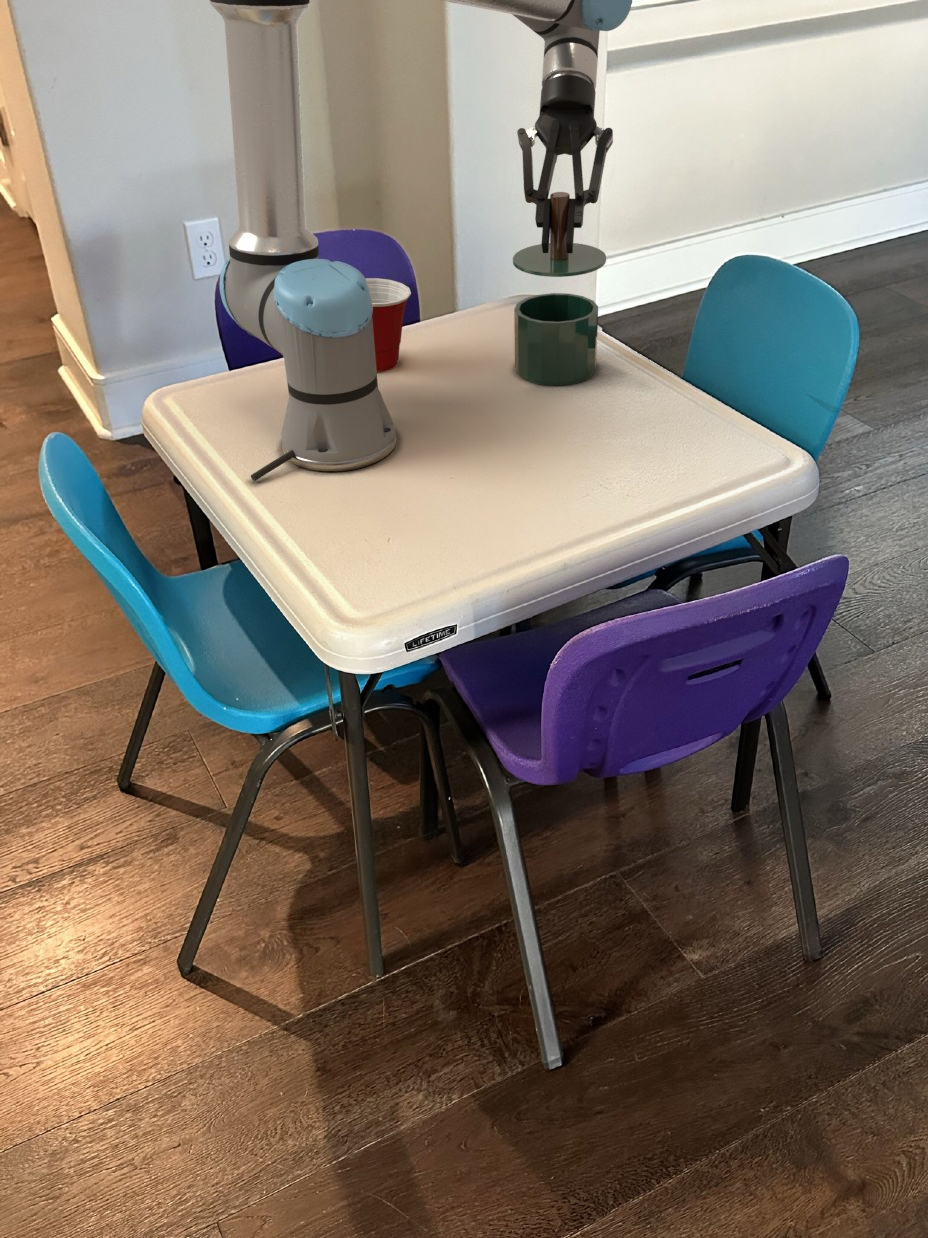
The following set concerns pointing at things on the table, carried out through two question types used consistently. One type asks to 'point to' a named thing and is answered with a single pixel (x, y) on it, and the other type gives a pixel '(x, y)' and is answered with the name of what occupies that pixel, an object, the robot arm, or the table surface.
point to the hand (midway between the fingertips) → (557, 247)
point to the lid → (559, 248)
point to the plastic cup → (387, 319)
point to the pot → (556, 338)
